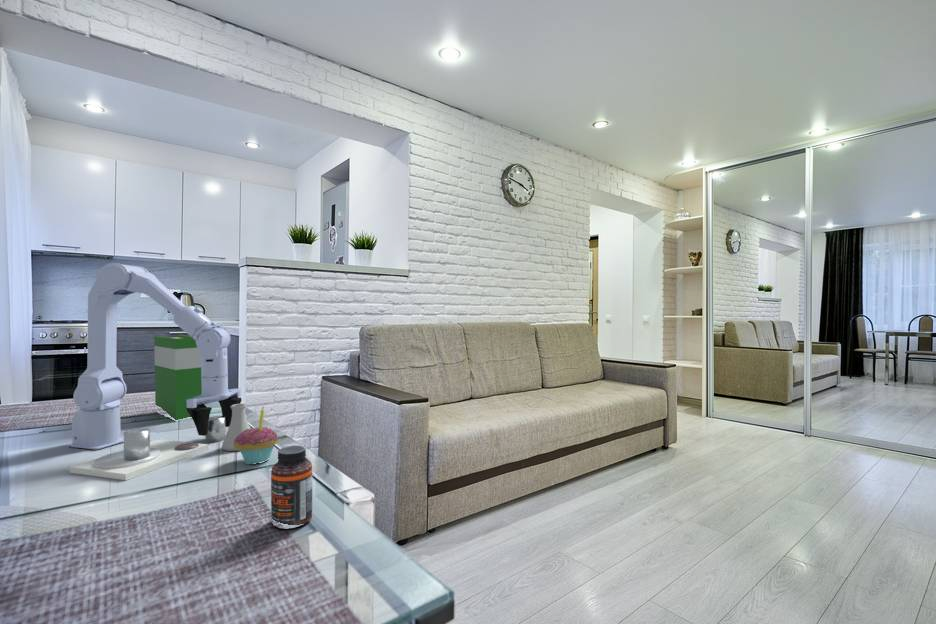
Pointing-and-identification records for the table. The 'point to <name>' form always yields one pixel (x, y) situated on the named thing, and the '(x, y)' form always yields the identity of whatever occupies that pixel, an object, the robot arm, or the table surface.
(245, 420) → the flask
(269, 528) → the table surface
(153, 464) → the scale
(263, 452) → the cupcake
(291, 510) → the supplement bottle
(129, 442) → the cylinder
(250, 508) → the table surface
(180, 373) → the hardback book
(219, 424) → the cylinder
